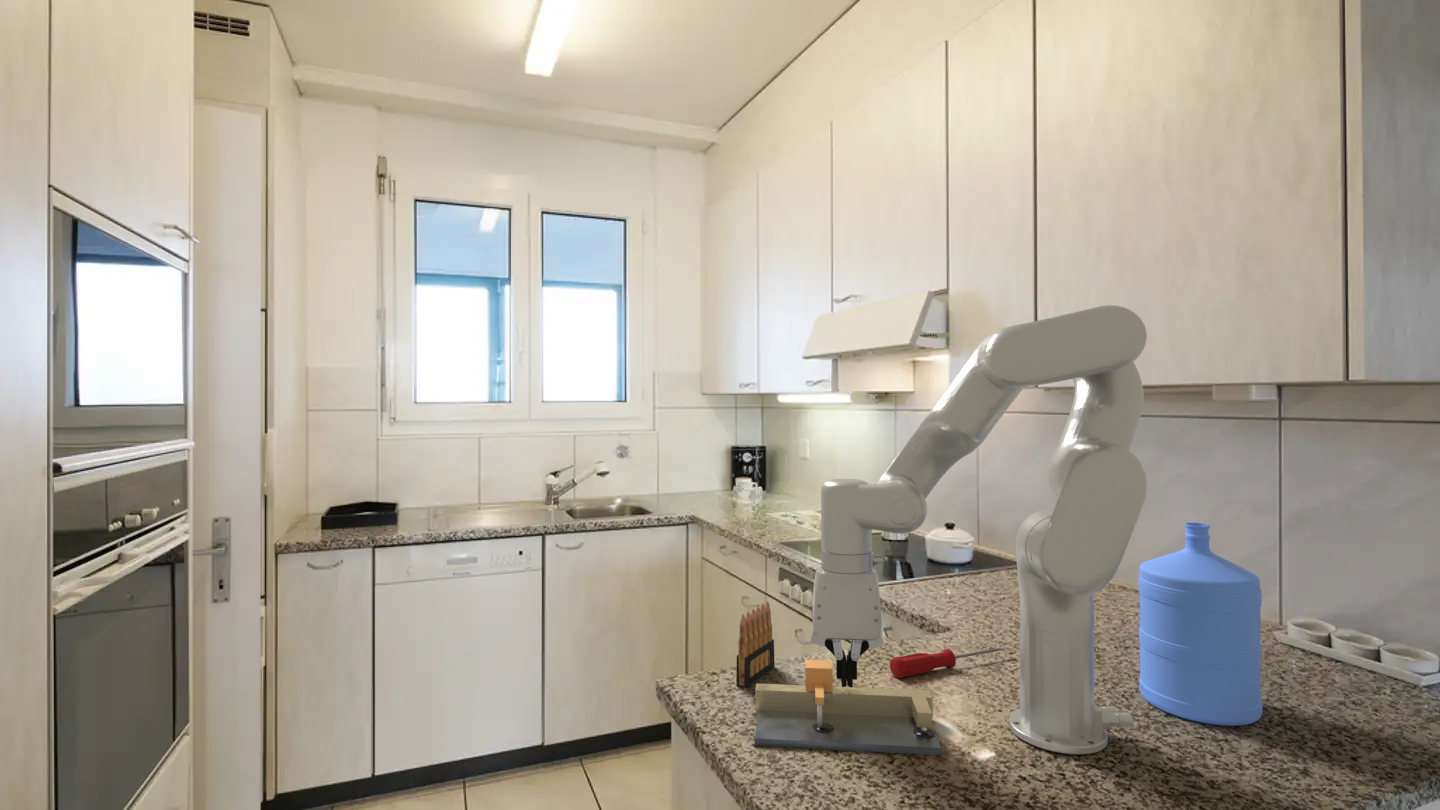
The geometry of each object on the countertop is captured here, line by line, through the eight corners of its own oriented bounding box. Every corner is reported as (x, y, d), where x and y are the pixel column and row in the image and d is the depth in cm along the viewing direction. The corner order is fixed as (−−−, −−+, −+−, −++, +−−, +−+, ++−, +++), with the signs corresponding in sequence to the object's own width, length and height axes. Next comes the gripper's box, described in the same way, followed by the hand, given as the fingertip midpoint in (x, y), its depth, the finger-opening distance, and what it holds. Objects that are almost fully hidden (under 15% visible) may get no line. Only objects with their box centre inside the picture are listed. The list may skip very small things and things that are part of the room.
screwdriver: (1014, 660, 125) (1014, 641, 125) (900, 682, 116) (900, 661, 116) (999, 654, 128) (999, 635, 128) (887, 674, 119) (887, 654, 119)
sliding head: (832, 702, 105) (831, 660, 105) (834, 727, 97) (833, 682, 97) (805, 701, 105) (805, 659, 105) (805, 726, 97) (805, 681, 97)
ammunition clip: (765, 665, 124) (765, 599, 124) (774, 667, 123) (774, 600, 123) (736, 686, 115) (735, 614, 115) (745, 688, 114) (745, 616, 114)
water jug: (1283, 735, 96) (1281, 536, 96) (1155, 720, 101) (1154, 531, 101) (1237, 690, 111) (1235, 518, 111) (1127, 679, 116) (1126, 514, 116)
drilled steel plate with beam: (926, 709, 105) (926, 683, 105) (944, 755, 92) (944, 725, 92) (757, 701, 109) (757, 676, 109) (750, 745, 95) (750, 716, 95)
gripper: (894, 557, 106) (894, 676, 106) (796, 555, 108) (797, 671, 108) (900, 569, 98) (900, 696, 98) (796, 566, 100) (796, 691, 100)
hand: (846, 683), depth 103 cm, fingers closed
